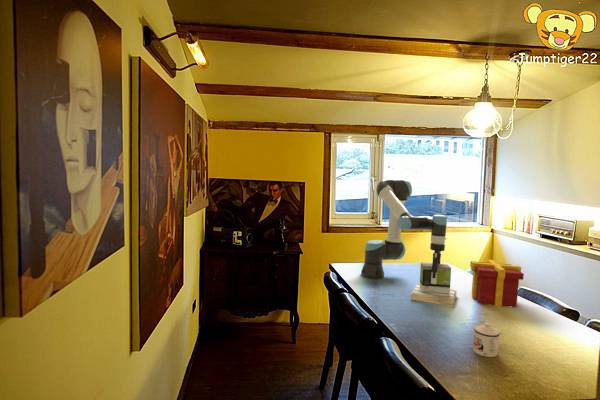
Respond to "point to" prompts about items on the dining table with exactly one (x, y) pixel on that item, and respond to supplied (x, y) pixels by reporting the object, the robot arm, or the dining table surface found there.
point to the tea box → (442, 278)
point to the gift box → (495, 283)
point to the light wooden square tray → (434, 296)
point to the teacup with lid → (486, 340)
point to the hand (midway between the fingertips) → (435, 280)
